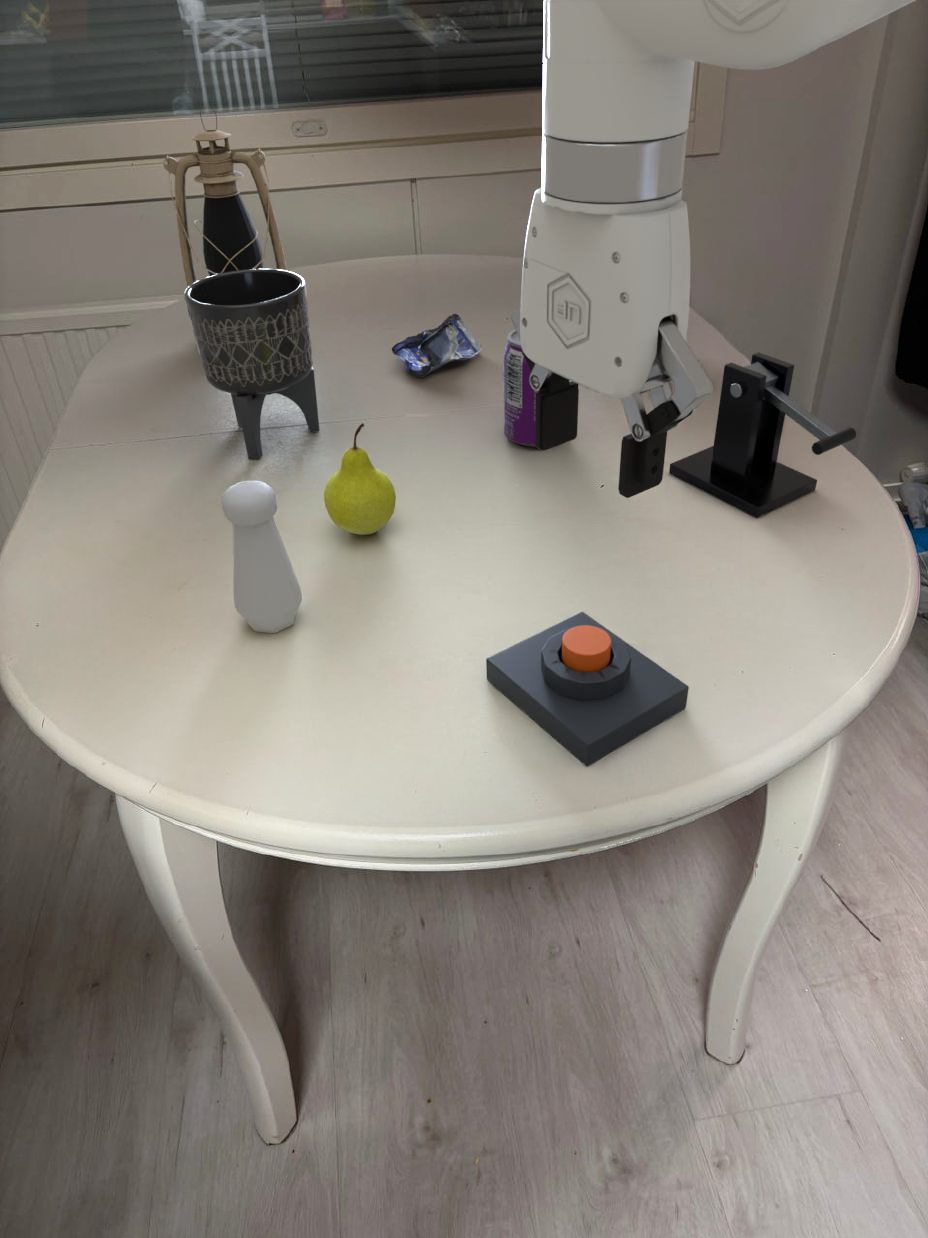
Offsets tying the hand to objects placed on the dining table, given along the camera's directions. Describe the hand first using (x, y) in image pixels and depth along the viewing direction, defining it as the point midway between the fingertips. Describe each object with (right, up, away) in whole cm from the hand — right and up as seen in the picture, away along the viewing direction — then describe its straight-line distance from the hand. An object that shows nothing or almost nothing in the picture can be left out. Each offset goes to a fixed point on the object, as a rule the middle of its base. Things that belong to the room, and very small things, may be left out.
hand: (596, 464), depth 60 cm
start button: (+1, -13, +10) cm, 16 cm away
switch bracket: (+21, +4, +37) cm, 43 cm away
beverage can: (0, +11, +48) cm, 49 cm away
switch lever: (+23, +9, +29) cm, 38 cm away
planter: (-31, +11, +50) cm, 60 cm away
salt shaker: (-25, -10, +21) cm, 35 cm away
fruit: (-19, -1, +33) cm, 38 cm away
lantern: (-41, +33, +79) cm, 95 cm away
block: (+1, -16, +12) cm, 20 cm away
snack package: (-12, +25, +67) cm, 72 cm away
